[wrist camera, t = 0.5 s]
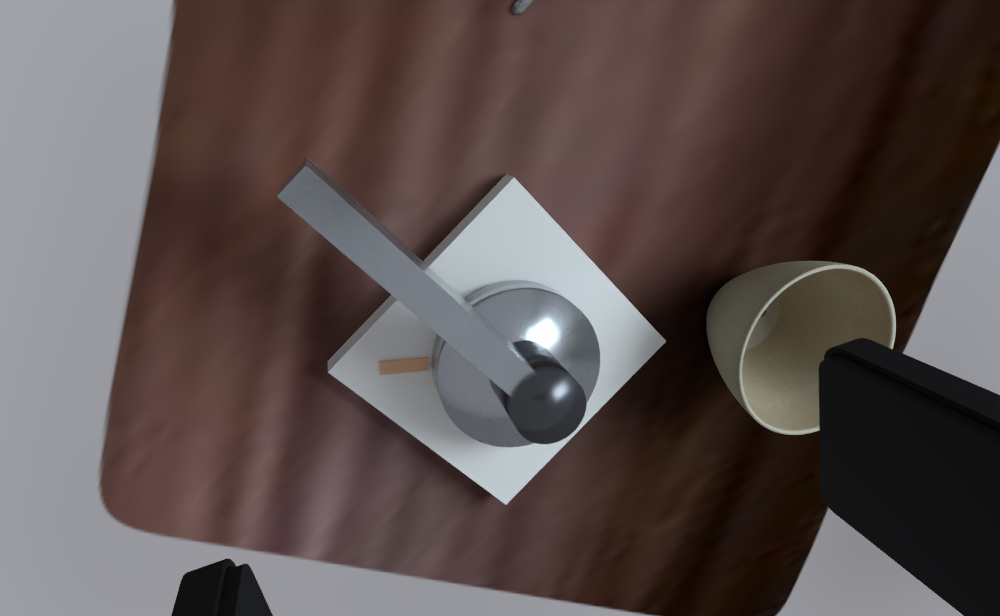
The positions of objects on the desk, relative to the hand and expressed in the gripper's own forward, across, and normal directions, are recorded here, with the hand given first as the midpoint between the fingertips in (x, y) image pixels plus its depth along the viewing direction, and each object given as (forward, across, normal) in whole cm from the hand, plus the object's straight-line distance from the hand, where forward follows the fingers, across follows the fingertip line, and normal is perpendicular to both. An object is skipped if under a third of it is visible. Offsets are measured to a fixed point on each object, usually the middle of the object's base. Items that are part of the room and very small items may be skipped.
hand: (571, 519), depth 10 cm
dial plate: (+25, -4, +8) cm, 27 cm away
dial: (+23, -2, +4) cm, 24 cm away
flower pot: (+25, -20, +11) cm, 34 cm away
